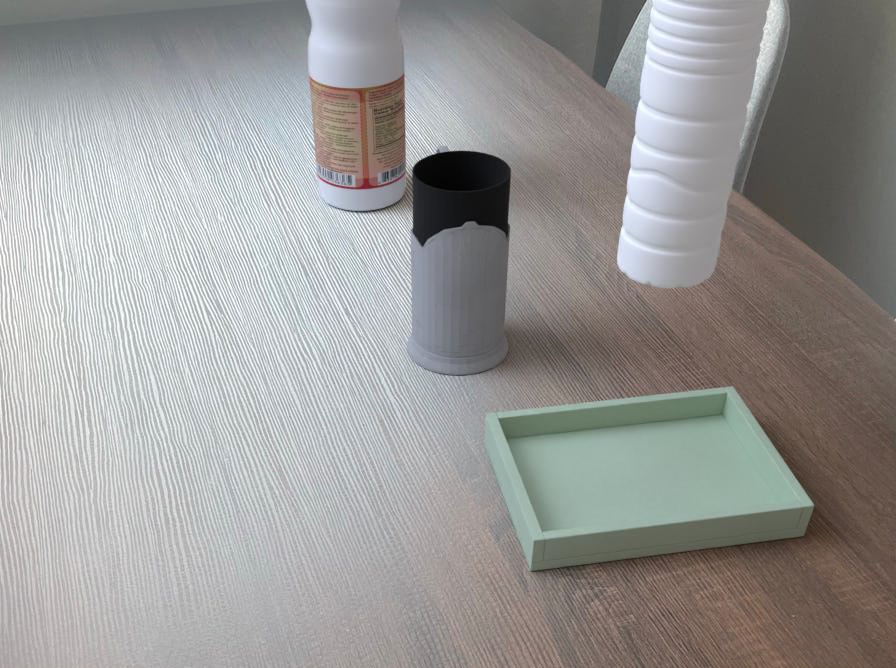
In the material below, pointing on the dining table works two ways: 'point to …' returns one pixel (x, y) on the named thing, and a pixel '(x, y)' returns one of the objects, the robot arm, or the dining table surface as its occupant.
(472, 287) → the glass holder
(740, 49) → the water bottle
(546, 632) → the dining table surface
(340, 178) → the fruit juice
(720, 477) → the rectangular tray
